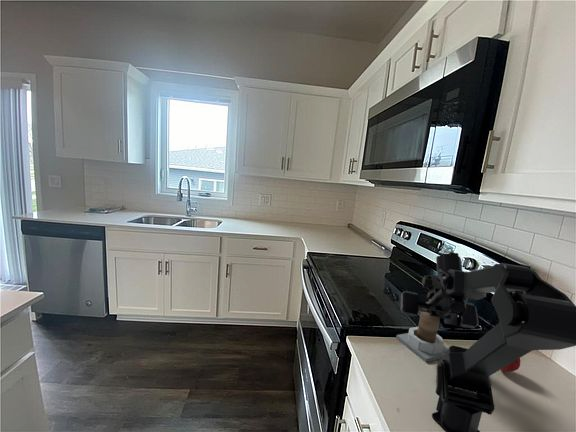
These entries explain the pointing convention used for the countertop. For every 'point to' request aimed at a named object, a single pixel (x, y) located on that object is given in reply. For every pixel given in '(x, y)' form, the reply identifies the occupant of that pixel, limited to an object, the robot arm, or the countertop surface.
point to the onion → (512, 366)
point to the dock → (419, 353)
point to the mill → (427, 327)
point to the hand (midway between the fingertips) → (427, 317)
